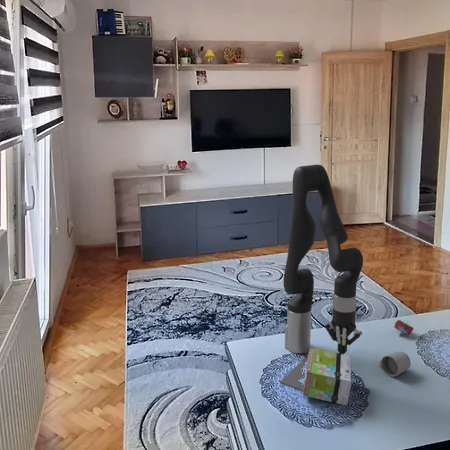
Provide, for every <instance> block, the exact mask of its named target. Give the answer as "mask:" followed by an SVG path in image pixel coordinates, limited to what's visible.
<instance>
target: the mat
mask: <svg viewBox="0 0 450 450" xmlns="http://www.w3.org/2000/svg"><path fill="white" fill-rule="evenodd" d="M306 361H308V356H306V357H304V359H302V361H300V362H299V363H298V364H297V365H296V366H295V367H294V368H293V369H292V370H291V371H290V372H288V373H287V375H285V376H284V377H283V378H282V380H279V383H280V384H282V385H285V386H288V387H290V388H293V389H296V390H298V391H301V392H303V389H304V384H303V383H301V382H299V381H298V380H300V379H302V378H301V377H303V376H304V377H305V375H304V374H305V373H304V372H305V370H304V372H303V374H302V371H303V369H302V368H303V366H305V363H306ZM301 369H302V370H301ZM302 384H303V385H302Z"/></svg>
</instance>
